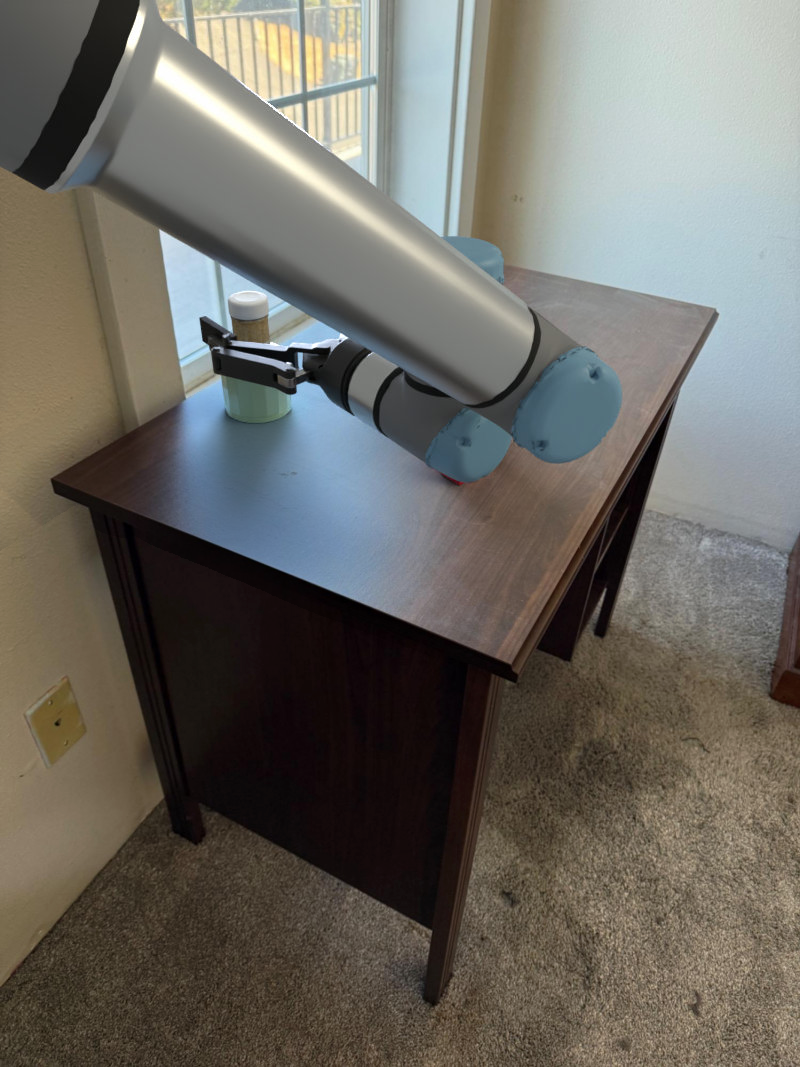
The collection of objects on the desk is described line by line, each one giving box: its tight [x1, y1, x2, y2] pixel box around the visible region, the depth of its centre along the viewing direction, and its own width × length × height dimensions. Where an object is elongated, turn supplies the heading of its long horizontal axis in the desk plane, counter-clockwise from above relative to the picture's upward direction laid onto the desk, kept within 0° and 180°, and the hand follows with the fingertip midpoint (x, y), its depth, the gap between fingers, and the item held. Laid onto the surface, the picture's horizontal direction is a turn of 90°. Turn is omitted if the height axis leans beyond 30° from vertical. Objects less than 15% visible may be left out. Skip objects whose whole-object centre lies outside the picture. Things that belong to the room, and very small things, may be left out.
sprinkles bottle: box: [227, 290, 271, 344], centre depth 89 cm, size 5×5×14 cm
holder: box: [220, 341, 292, 424], centre depth 92 cm, size 8×8×7 cm
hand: (257, 314), depth 85 cm, fingers open, 13 cm apart
